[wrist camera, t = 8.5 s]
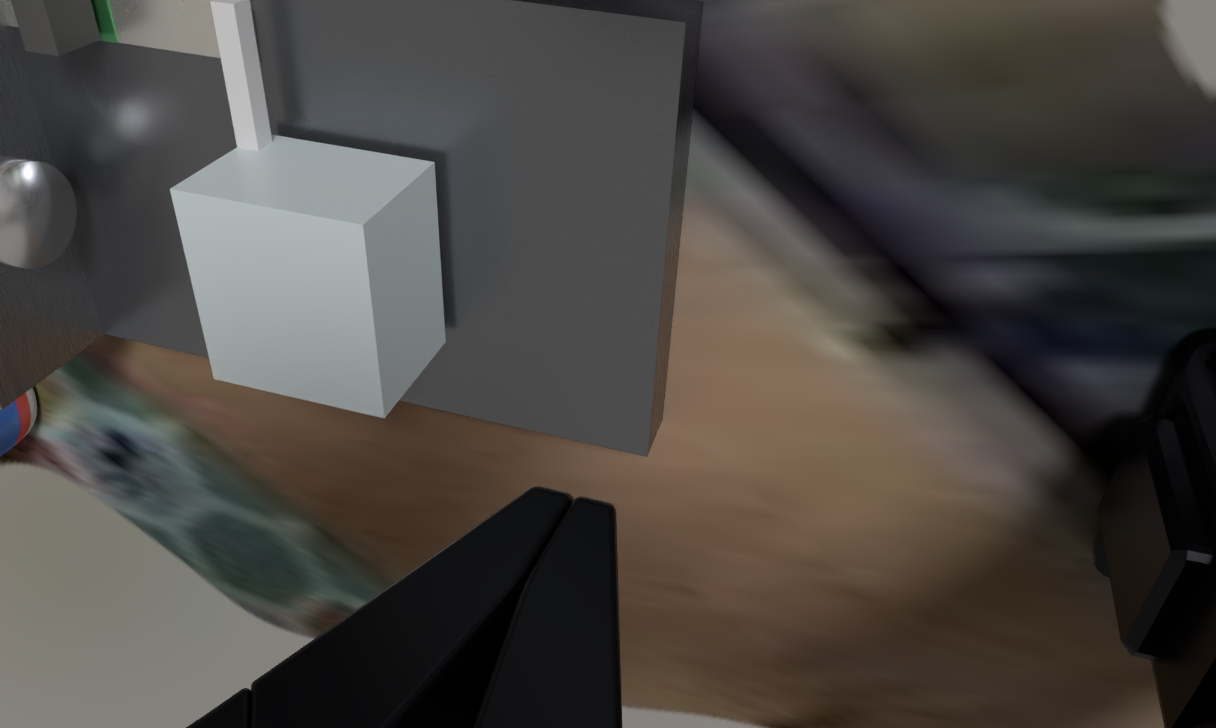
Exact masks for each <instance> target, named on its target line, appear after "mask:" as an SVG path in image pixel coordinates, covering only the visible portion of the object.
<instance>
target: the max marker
mask: <svg viewBox="0 0 1216 728" xmlns="http://www.w3.org/2000/svg"><path fill="white" fill-rule="evenodd" d="M11 3H12V7H13V10H14V13H15V17H16V20H17V23H18V27H19V30H20V33H21V37H22V40H23V43H24V47H25V50H26V51H30V52H36V53H42V54H49V55H55V56H60V55H63V54H65V53H68V52H71V51H73V50H76V49H78V48H81V47H83V46H86V45H88V44H91V43H93V42H96V41H99V40H101V39H100V35H99V31H98V27H97V23H96V19H95V15H94V11H93V7H92V3H91V0H11Z"/></svg>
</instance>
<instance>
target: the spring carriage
mask: <svg viewBox="0 0 1216 728" xmlns="http://www.w3.org/2000/svg"><path fill="white" fill-rule="evenodd" d="M210 3H211V8H212V14H213V19H214V25H215V30H216V35H217V41H218V46H219V52H220V57H221V62H222V68H223V73H224V79H225V84H226V90H227V95H228V100H229V106H230V111H231V117H232V122H233V127H234V133H235V138H236V144H237V148H235V149H234V150H232V151H230V152H229V153H227V154H226V155H224V156H222V157H221V158H219V159H217V160H216V161H214V162H213V163H211V164H209V165H208V166H206V167H204V168H203V169H201V170H200V171H198V172H196V173H195V174H193V175H192V176H190V177H188V178H187V179H185V180H183V181H182V182H180V183H179V184H177V185H175V186H174V187H172V188H170V192H171V197H172V201H173V205H174V209H175V214H176V218H177V222H178V227H179V231H180V235H181V240H182V244H183V248H184V252H185V257H186V261H187V265H188V270H189V274H190V278H191V282H192V287H193V291H194V295H195V300H196V304H197V308H198V313H199V317H200V321H201V325H202V330H203V334H204V338H205V343H206V347H207V351H208V356H209V360H210V364H211V368H212V373H213V377H214V379H216V380H220V381H225V382H229V383H233V384H238V385H242V386H246V387H251V388H255V389H259V390H264V391H268V392H272V393H277V394H281V395H285V396H290V397H294V398H298V399H303V400H307V401H311V402H315V403H320V404H324V405H328V406H333V407H337V408H341V409H346V410H350V411H354V412H359V413H363V414H367V415H372V416H376V417H380V418H385V417H386V416H387V415H388V413H389V412H390V411H391V410H392V408H393V407H394V406H395V405H396V403H397V402H398V401H399V400H400V398H401V397H402V396H403V395H404V393H405V392H406V391H407V390H408V388H409V387H410V386H411V385H412V383H413V382H414V381H415V380H416V378H417V377H418V376H419V375H420V373H421V372H422V371H423V370H424V368H425V367H426V366H427V365H428V363H429V362H430V361H431V360H432V358H433V357H434V356H435V355H436V353H437V352H438V351H439V350H440V348H441V347H442V346H443V345H444V343H445V342H446V340H445V323H444V307H443V291H442V275H441V259H440V242H439V226H438V210H437V194H436V178H435V162H431V161H425V160H419V159H413V158H408V157H402V156H396V155H390V154H384V153H378V152H372V151H366V150H360V149H354V148H348V147H342V146H336V145H330V144H325V143H319V142H313V141H307V140H301V139H295V138H289V137H283V136H277V135H271V130H270V124H269V118H268V112H267V106H266V100H265V93H264V87H263V81H262V75H261V69H260V63H259V56H258V50H257V44H256V38H255V32H254V26H253V19H252V13H251V7H250V1H249V0H212V1H210Z"/></svg>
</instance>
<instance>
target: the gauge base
mask: <svg viewBox="0 0 1216 728" xmlns="http://www.w3.org/2000/svg"><path fill="white" fill-rule="evenodd" d="M210 1H212V0H91V3H92V7H93V11H94V15H95V19H96V23H97V27H98V31H99V35H100V39H101V40H99V41H96V42H93V43H91V44H88V45H86V46H83V47H81V48H78V49H76V50H73V51H71V52H68V53H65V54H63V55H60V56H55V55H49V54H42V53H36V52H30V51H26V50H25V47H24V43H23V40H22V37H21V33H20V30H19V27H18V23H17V20H16V17H15V13H14V10H13V7H12V3H11V0H0V409H2V410H3V409H4V408H5V407H7V406H8V405H9V404H11V403H12V402H14V401H15V400H16V399H18V398H19V397H20V396H22V395H23V394H24V393H26V392H27V391H28V390H30V389H31V388H32V387H34V386H35V385H36V384H38V383H39V382H41V381H42V380H43V379H45V378H46V377H47V376H49V375H50V374H51V373H53V372H54V371H55V370H57V369H58V368H59V367H61V366H62V365H63V364H65V363H66V362H68V361H69V360H70V359H72V358H73V357H74V356H76V355H77V354H78V353H80V352H81V351H82V350H84V349H85V348H86V347H88V346H89V345H90V344H92V343H93V342H95V341H96V340H97V339H99V338H100V337H101V336H103V335H104V334H107V335H111V336H115V337H120V338H124V339H129V340H133V341H137V342H142V343H146V344H151V345H155V346H160V347H164V348H168V349H173V350H177V351H182V352H186V353H190V354H195V355H199V356H204V357H208V358H209V356H208V351H207V347H206V343H205V338H204V334H203V330H202V325H201V321H200V317H199V313H198V308H197V304H196V300H195V295H194V291H193V287H192V282H191V278H190V274H189V270H188V265H187V261H186V257H185V252H184V248H183V244H182V240H181V235H180V231H179V227H178V222H177V218H176V214H175V209H174V205H173V201H172V197H171V192H170V188H172V187H174V186H175V185H177V184H179V183H180V182H182V181H183V180H185V179H187V178H188V177H190V176H192V175H193V174H195V173H196V172H198V171H200V170H201V169H203V168H204V167H206V166H208V165H209V164H211V163H213V162H214V161H216V160H217V159H219V158H221V157H222V156H224V155H226V154H227V153H229V152H230V151H232V150H234V149H235V148H237V144H236V138H235V133H234V127H233V122H232V117H231V111H230V106H229V100H228V95H227V90H226V84H225V79H224V73H223V68H222V62H221V57H220V52H219V46H218V41H217V35H216V30H215V25H214V19H213V14H212V8H211V3H210ZM249 1H250V7H251V13H252V19H253V26H254V32H255V38H256V44H257V50H258V56H259V63H260V69H261V75H262V81H263V87H264V93H265V100H266V106H267V112H268V118H269V124H270V130H271V135H277V136H283V137H289V138H295V139H301V140H307V141H313V142H319V143H325V144H330V145H336V146H342V147H348V148H354V149H360V150H366V151H372V152H378V153H384V154H390V155H396V156H402V157H408V158H413V159H419V160H425V161H431V162H435V178H436V194H437V210H438V226H439V242H440V259H441V275H442V291H443V307H444V323H445V340H446V342H445V343H444V345H443V346H442V347H441V348H440V350H439V351H438V352H437V353H436V355H435V356H434V357H433V358H432V360H431V361H430V362H429V363H428V365H427V366H426V367H425V368H424V370H423V371H422V372H421V373H420V375H419V376H418V377H417V378H416V380H415V381H414V382H413V383H412V385H411V386H410V387H409V388H408V390H407V391H406V392H405V393H404V395H403V396H402V397H401V398H400V400H399V401H403V402H407V403H411V404H416V405H420V406H425V407H429V408H433V409H438V410H442V411H447V412H451V413H456V414H460V415H464V416H469V417H473V418H478V419H482V420H486V421H491V422H495V423H500V424H504V425H509V426H513V427H517V428H522V429H526V430H531V431H535V432H540V433H544V434H548V435H553V436H557V437H562V438H566V439H570V440H575V441H579V442H584V443H588V444H593V445H597V446H601V447H606V448H610V449H615V450H619V451H623V452H628V453H632V454H637V455H641V456H646V457H647V456H648V453H649V451H650V449H651V446H652V444H653V441H654V439H655V436H656V434H657V432H658V429H659V427H660V424H661V422H662V419H663V409H664V398H665V388H666V378H667V368H668V358H669V347H670V337H671V327H672V317H673V307H674V296H675V286H676V276H677V266H678V256H679V245H680V235H681V225H682V215H683V205H684V194H685V184H686V174H687V164H688V154H689V143H690V133H691V123H692V113H693V103H694V92H695V82H696V72H697V62H698V52H699V41H700V31H701V21H702V11H703V2H702V1H694V0H249Z"/></svg>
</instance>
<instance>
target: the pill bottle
mask: <svg viewBox="0 0 1216 728" xmlns="http://www.w3.org/2000/svg"><path fill="white" fill-rule="evenodd" d="M36 416H37V401H36V396H35V393H34V390H33V387H32V388H31V389H30V390H28V391H27V392H26V393H24V394H23V395H22V396H20V397H19V398H18V399H16V400H15V401H14V402H12V403H11V404H9V405H8V406H7V407H5V408H4V409H3V410H2V409H0V457H1V456H2V455H3V454H5V453H6V452H7V451H8V450H10V449H11V448H12V447H13V446H15V445H16V444H17V443H18V442H19V441H20V440H21V439H23V438H24V437H25V436H26V435H27V434H28V433H29V431H30V430H31V428H32V427H33V425H34V422H35V420H36Z"/></svg>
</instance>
